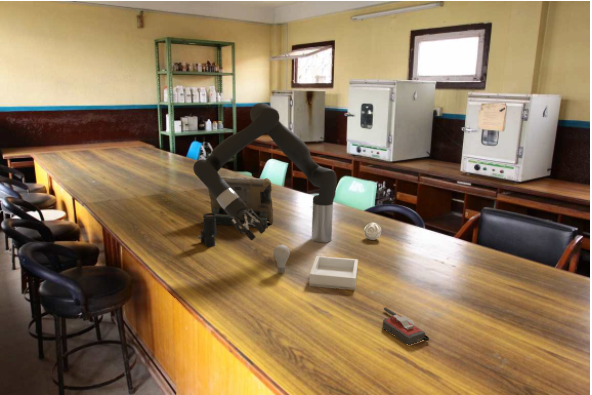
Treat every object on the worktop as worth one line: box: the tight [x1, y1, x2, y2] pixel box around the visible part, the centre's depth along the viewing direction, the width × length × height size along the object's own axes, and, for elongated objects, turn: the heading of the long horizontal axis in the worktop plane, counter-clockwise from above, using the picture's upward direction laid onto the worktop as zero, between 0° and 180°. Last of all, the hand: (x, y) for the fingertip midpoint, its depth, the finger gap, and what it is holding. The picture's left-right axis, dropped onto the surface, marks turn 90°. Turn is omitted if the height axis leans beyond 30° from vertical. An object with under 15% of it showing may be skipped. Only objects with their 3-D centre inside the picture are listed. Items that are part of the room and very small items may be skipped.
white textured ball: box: [363, 222, 382, 241], centre depth 210 cm, size 8×8×8 cm
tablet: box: [207, 175, 274, 229], centre depth 227 cm, size 33×14×25 cm, turn 84°
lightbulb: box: [273, 244, 291, 274], centre depth 169 cm, size 6×6×11 cm
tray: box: [308, 255, 359, 291], centre depth 166 cm, size 18×16×4 cm
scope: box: [197, 212, 218, 248], centre depth 197 cm, size 8×14×10 cm
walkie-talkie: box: [382, 306, 430, 345], centre depth 133 cm, size 9×4×20 cm
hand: (258, 235), depth 170 cm, fingers open, 8 cm apart
